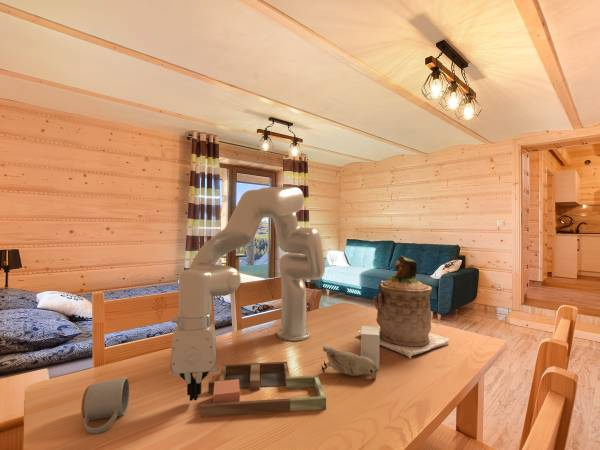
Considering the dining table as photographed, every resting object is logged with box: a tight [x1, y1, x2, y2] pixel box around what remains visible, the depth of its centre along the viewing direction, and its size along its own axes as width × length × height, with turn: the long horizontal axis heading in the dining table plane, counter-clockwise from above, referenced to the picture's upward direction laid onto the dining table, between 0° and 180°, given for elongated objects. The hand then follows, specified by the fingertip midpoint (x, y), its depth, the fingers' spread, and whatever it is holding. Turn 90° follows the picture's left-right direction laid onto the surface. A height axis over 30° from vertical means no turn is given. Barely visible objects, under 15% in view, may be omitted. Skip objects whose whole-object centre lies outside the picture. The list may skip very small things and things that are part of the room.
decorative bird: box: [320, 345, 378, 381], centre depth 90 cm, size 5×16×8 cm, turn 72°
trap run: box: [200, 361, 327, 418], centre depth 82 cm, size 20×28×2 cm
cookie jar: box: [357, 255, 450, 359], centre depth 117 cm, size 25×25×32 cm
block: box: [212, 379, 241, 403], centre depth 76 cm, size 6×6×4 cm
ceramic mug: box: [80, 376, 131, 434], centre depth 69 cm, size 11×8×8 cm
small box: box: [360, 325, 381, 371], centre depth 97 cm, size 8×6×10 cm
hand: (194, 397), depth 75 cm, fingers closed
